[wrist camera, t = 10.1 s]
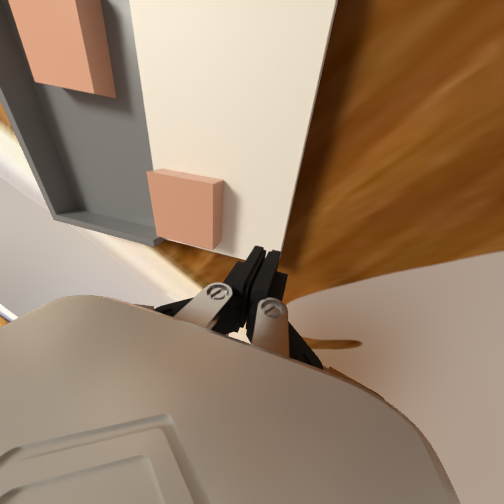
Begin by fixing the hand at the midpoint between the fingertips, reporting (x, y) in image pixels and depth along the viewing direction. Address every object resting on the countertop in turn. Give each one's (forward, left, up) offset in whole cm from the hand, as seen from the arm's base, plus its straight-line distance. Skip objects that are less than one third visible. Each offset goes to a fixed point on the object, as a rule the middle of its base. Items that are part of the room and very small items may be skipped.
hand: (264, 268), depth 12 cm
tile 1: (-12, -19, -7) cm, 23 cm away
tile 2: (-1, -9, -6) cm, 10 cm away
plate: (-6, -6, -9) cm, 12 cm away
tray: (-6, -20, -9) cm, 22 cm away
